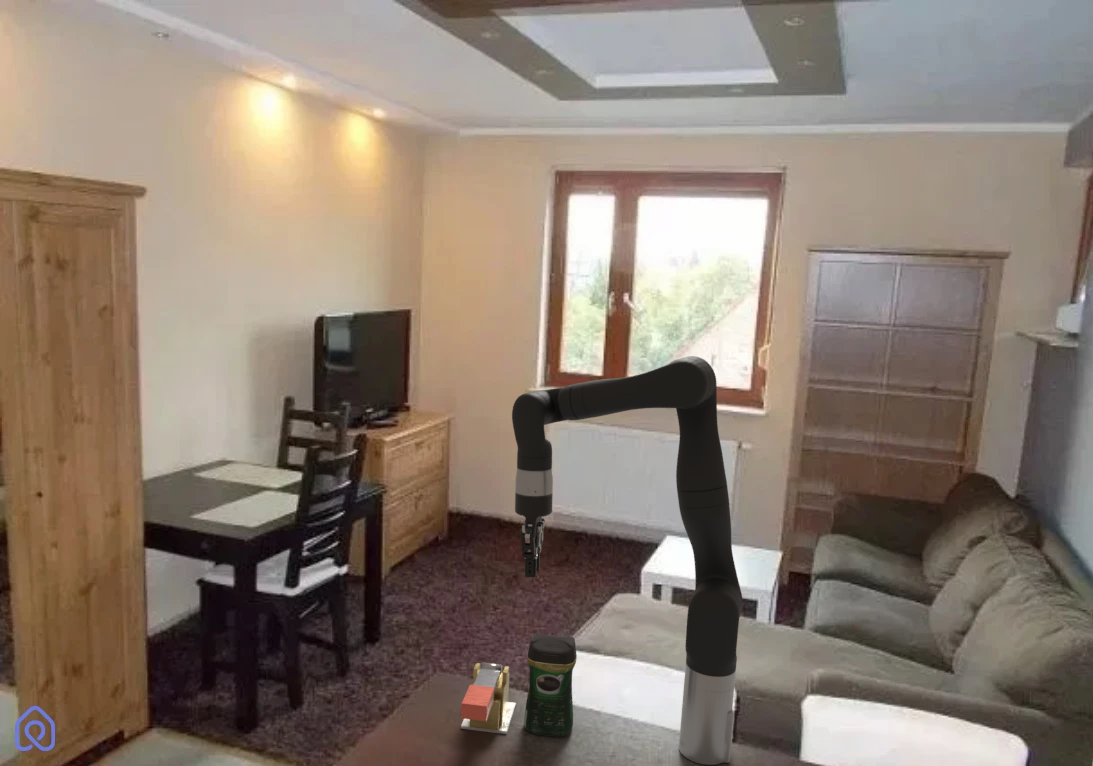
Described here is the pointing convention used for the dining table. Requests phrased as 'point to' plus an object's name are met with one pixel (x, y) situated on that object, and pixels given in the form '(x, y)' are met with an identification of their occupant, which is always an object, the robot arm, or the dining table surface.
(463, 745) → the dining table surface
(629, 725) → the dining table surface
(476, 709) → the lever
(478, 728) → the gold lever base
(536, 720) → the coffee jar
